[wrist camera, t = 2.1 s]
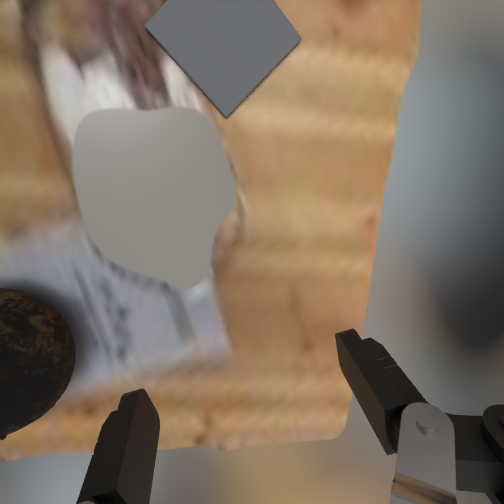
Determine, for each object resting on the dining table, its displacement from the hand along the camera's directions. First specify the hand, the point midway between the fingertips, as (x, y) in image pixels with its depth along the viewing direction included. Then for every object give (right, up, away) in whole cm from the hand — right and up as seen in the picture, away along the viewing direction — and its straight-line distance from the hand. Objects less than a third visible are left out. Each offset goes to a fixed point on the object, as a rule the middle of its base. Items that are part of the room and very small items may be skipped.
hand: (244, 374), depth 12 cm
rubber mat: (-3, +31, +24) cm, 39 cm away
